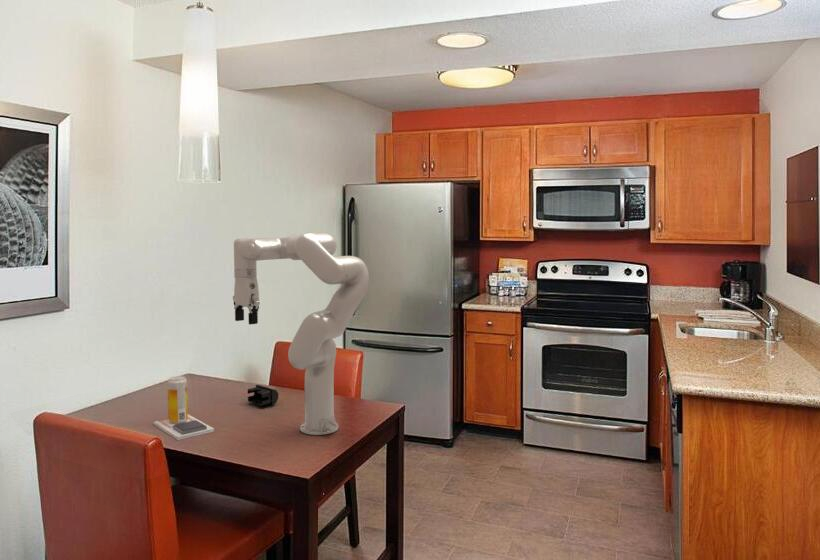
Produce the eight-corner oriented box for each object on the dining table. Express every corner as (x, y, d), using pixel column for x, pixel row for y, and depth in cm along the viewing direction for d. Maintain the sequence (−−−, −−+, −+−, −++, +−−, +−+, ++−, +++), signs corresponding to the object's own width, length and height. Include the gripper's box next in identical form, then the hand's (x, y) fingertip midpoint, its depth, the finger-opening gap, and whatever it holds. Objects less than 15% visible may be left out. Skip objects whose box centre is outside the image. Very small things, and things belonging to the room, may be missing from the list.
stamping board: (214, 431, 200) (213, 424, 200) (177, 440, 192) (177, 433, 192) (188, 417, 215) (188, 410, 215) (153, 424, 207) (153, 417, 207)
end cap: (278, 405, 230) (278, 387, 229) (263, 409, 224) (263, 391, 224) (262, 400, 236) (262, 383, 236) (247, 404, 231) (246, 386, 230)
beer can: (181, 417, 211) (179, 374, 210) (191, 420, 208) (190, 377, 206) (165, 422, 206) (163, 378, 205) (175, 425, 203) (174, 381, 202)
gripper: (267, 274, 210) (268, 324, 212) (243, 271, 223) (244, 318, 224) (247, 276, 205) (248, 326, 207) (224, 272, 218) (224, 320, 219)
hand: (246, 322), depth 215 cm, fingers open, 9 cm apart
